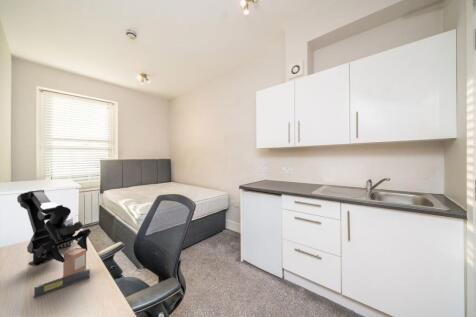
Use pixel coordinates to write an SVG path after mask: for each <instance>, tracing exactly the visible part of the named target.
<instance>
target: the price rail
mask: <svg viewBox="0 0 476 317" xmlns="http://www.w3.org/2000/svg"><path fill="white" fill-rule="evenodd" d="M90 271H91V270H90V268H86V270H83V271H80V272H78V273H75V274H72V275H69V276H66V277H64V276H62V277H60V278H57V279H54V280H51V281H48V282H45V283H43V284H39V285H36V286H34V289H33V298H34V299H35V298H38V297H40V296H43V295H46V294H49V293H51V292H54V291H57V290H59V289H63V288H65V287H67V286H71V285H73V284H76V283H80V282H81V281H85V280H87V279H90V278H91V277H90V276H91V275H90V274H91V272H90Z"/></svg>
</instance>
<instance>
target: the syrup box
mask: <svg viewBox="0 0 476 317" xmlns="http://www.w3.org/2000/svg"><path fill="white" fill-rule="evenodd" d="M64 223H65V225H66V226H68V225H69V226H72V225H74V218H73V217H71V216H70V217H69V216H68V218H67V219H66V221H65V222H64Z"/></svg>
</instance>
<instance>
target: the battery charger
mask: <svg viewBox="0 0 476 317" xmlns="http://www.w3.org/2000/svg"><path fill="white" fill-rule="evenodd" d="M70 246H72V241H71V242H68V243H66V244H63V245H61V246H58V250H60V249H65V248H68V247H70Z"/></svg>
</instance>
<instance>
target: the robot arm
mask: <svg viewBox="0 0 476 317" xmlns="http://www.w3.org/2000/svg"><path fill="white" fill-rule="evenodd" d="M16 198H17V203H18V204H19V205H20V208H23V209H24V210H26V211H27V215H28V220H29V223H30V225H31V228H32V232H33V234H32V236H31V239H29V240H30V241H29V243H28V245H27V247H26V249H27V253H29V254H30V255H32V261H29V262H28V264H29V265H32V266H40V265H42V264H45V263H47V262H50V261H52V260H55V261H57V262H59V263H61V264H63V262H64V261H65V260H64V258H63V255H62V254H61V252H60V250H59V249H58V246H61V245H63V244H66V243H68V242H71V243H72V242H73V241H76V242H77V243H76V245H78V246H79V248H82V249H86V252H87V251H88V242H87V240H88V238H89V236H90V234H91V233H92V231H91V229H90V228H85V229H82V230H81V228H83V223H82V222H81V221H76V222H73V225H72V226H69V225H68V226H66V225H65V223H64V222H65V221H66V219H67V218H68V217H69V216H70V215H71V209H70V208H69V207H66V206H63V204H60V205H59V204H58V203H55V202H51V200H50V199H49V197H48V196H47V195H46V193H45V190H44V189H32V190H28V191H27V192H24V193H20V194H19V195H17V197H16ZM45 221H46V222H45ZM78 231H79V232H78ZM76 232H78V233H77V234H76ZM75 234H76V235H75Z"/></svg>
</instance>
